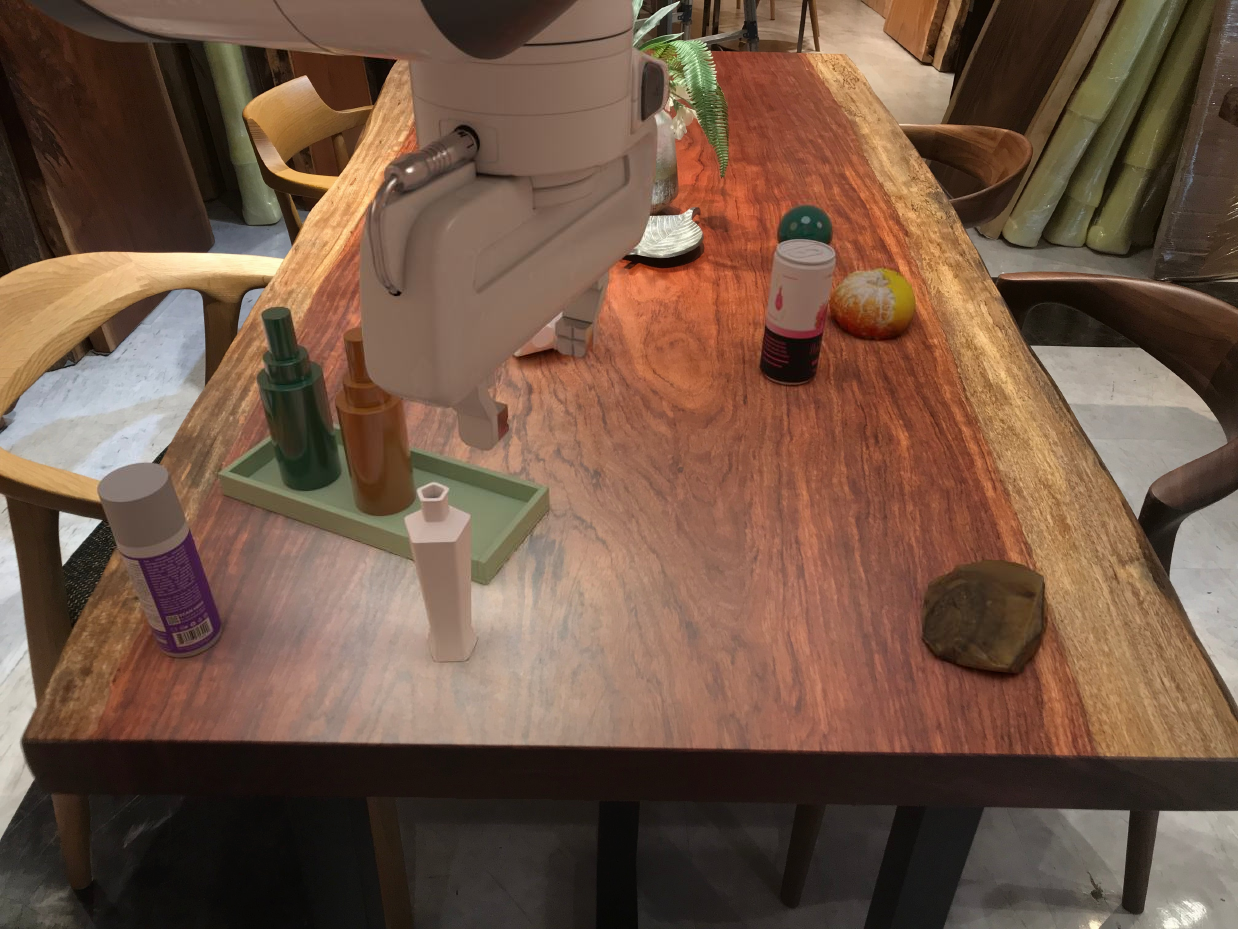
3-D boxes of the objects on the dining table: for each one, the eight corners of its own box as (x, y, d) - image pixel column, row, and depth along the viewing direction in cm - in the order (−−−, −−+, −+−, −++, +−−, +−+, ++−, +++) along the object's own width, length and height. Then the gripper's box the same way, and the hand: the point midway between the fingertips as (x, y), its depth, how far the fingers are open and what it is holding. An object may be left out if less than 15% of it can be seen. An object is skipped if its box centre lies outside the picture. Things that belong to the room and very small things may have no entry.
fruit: (833, 293, 121) (861, 242, 116) (903, 329, 119) (935, 279, 114) (812, 326, 112) (841, 272, 107) (887, 365, 111) (920, 313, 106)
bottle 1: (316, 497, 83) (279, 333, 73) (268, 481, 84) (225, 319, 74) (354, 465, 87) (324, 305, 77) (308, 451, 89) (272, 293, 79)
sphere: (767, 264, 129) (774, 210, 124) (780, 245, 135) (787, 193, 130) (822, 274, 127) (831, 219, 122) (833, 254, 133) (842, 201, 128)
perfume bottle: (408, 652, 68) (382, 498, 60) (446, 617, 72) (426, 466, 63) (455, 677, 67) (434, 522, 58) (491, 640, 70) (478, 488, 61)
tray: (549, 508, 83) (549, 486, 82) (486, 585, 75) (484, 563, 73) (305, 433, 92) (300, 412, 91) (223, 494, 84) (217, 473, 82)
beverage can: (826, 380, 103) (849, 257, 94) (777, 391, 101) (795, 266, 92) (796, 354, 108) (815, 235, 99) (749, 364, 106) (763, 243, 97)
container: (230, 612, 71) (180, 460, 63) (212, 657, 68) (156, 502, 59) (170, 614, 71) (111, 461, 62) (148, 658, 67) (82, 503, 58)
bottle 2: (392, 522, 80) (365, 356, 70) (341, 506, 82) (307, 341, 72) (428, 488, 84) (406, 326, 74) (378, 473, 86) (351, 312, 76)
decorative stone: (1040, 695, 67) (1055, 663, 64) (911, 656, 69) (922, 624, 67) (1043, 602, 74) (1057, 571, 72) (928, 570, 77) (938, 540, 75)
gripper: (448, 190, 28) (479, 532, 36) (683, 61, 43) (667, 321, 51) (285, 159, 30) (350, 490, 38) (566, 46, 45) (568, 299, 53)
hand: (534, 391), depth 44 cm, fingers open, 8 cm apart
